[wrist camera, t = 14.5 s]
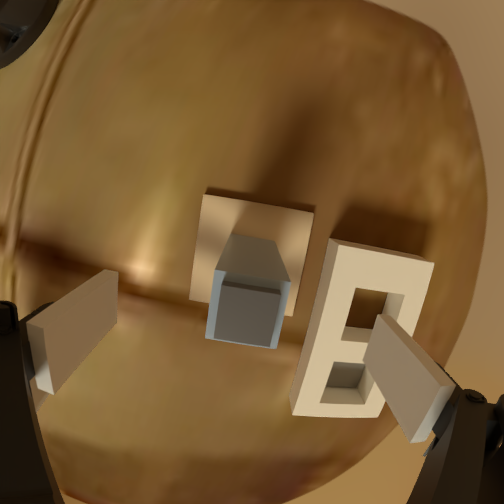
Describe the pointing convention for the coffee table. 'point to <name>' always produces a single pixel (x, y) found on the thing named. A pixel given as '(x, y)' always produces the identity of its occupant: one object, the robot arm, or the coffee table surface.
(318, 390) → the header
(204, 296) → the pad
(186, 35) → the coffee table surface
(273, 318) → the plug
